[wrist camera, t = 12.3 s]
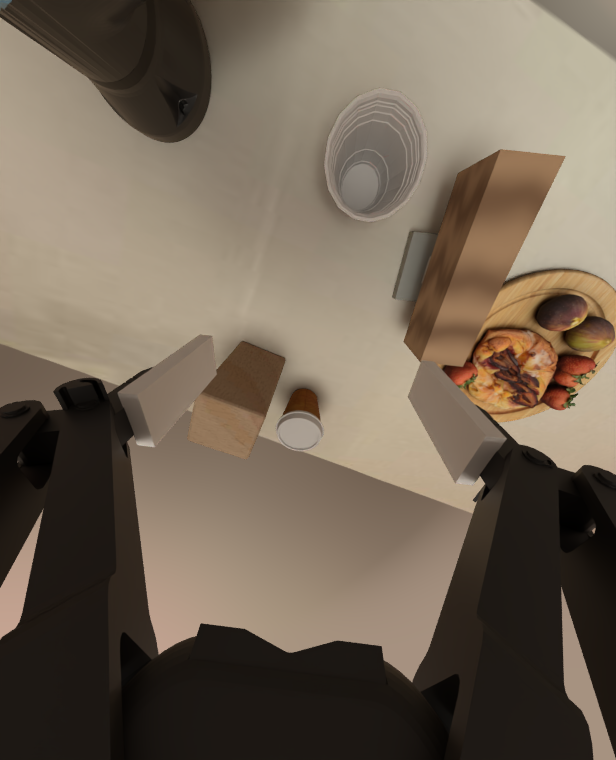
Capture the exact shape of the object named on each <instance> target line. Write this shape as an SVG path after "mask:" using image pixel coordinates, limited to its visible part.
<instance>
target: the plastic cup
mask: <svg viewBox="0 0 616 760" xmlns="http://www.w3.org/2000/svg"><path fill="white" fill-rule="evenodd" d="M426 160H427V130H426V128H425V125H424V122H423V120H422V117H421V115H420V112H419V110H418V107H417V106H416V105H415V104H414V103H412V102H411V101H410V100H409V99H408V98H407V97H406V96H405V95H404V94H403V93H402V92H400V91H394V90H389V89H384V88H377V89H374V90H372V91H369V92H366V93H364V94H361V95H358V96H357V97H356V98H355V99H354V100H353V101H352V102H351V103H350V104H349V105H348V106H347V107H346V108H345V109H344V110H343V111H342V112H341V113H340V114H339V116H338V118H337V120H336V122H335V124H334V126H333V129H332V131H331V133H330V135H329V137H328V140H327V147H326V155H325V162H324V168H325V174H326V180H327V186H328V190H329V192H330V194H331V195H332V197H333V199H334V201H335V202H336V204H337V206H338V208H339V209H341V210H342V211H343V212H345V213H346V214H348V215H349V216H350V217H352V218H353V219H356V220H362V221H368V222H374V221H377V220H381V219H384V218H387V217H390V216H392V215H393V214H394V213H395V212H396V211H398V210H399V209H400V208H401V207H403V206H404V205H405V204H406V203H407V202H408V201H409V199H410V198H411V196H412V194H413V193H414V191H415V190H416V188H417V187H418V185H419V183H420V181H421V178H422V174H423V171H424V167H425V163H426Z"/></svg>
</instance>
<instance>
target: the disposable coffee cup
mask: <svg viewBox="0 0 616 760" xmlns="http://www.w3.org/2000/svg"><path fill="white" fill-rule="evenodd" d="M276 433H277V437H278V439H279V441H280V442H281V443H282V444H283V445H284V446H285V447H287V448H289V449H291V450H295V451H307V450H310V449H313V448H314V447H316V446H317V445H318V444H319V442H320V441H321V439H322V437H323V435H324V428H323V425H322V423H321V421H320V414H319V408H318V402H317V397H316V395H315V393H313V392H312V391H311V390H308V389H299V390H296V391H295V392H294V393H293V394H292V396H291V398H290V400H289V402H288V404H287V407H286V409H285V411H284V413H283V415H282V417H281V418H280V419H279V420H278V422H277V424H276Z"/></svg>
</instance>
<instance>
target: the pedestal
mask: <svg viewBox="0 0 616 760" xmlns="http://www.w3.org/2000/svg"><path fill="white" fill-rule="evenodd" d="M437 237H438V234H432V233H423V232H410V233H409V237H408V241H407V244H406V248H405V252H404V256H403V259H402V263H401V267H400V270H399V274H398V278H397V282H396V285H395V289H394V293H393V296H392V297H393V298H394V299H398V300H407V301H416V302H417V299H418V296H419V293H420V289H421V286H422V283H423V280H424V277H425V274H426V271H427V268H428V265H429V262H430V258H431V255H432V252H433V249H434V246H435V243H436V240H437Z"/></svg>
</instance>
